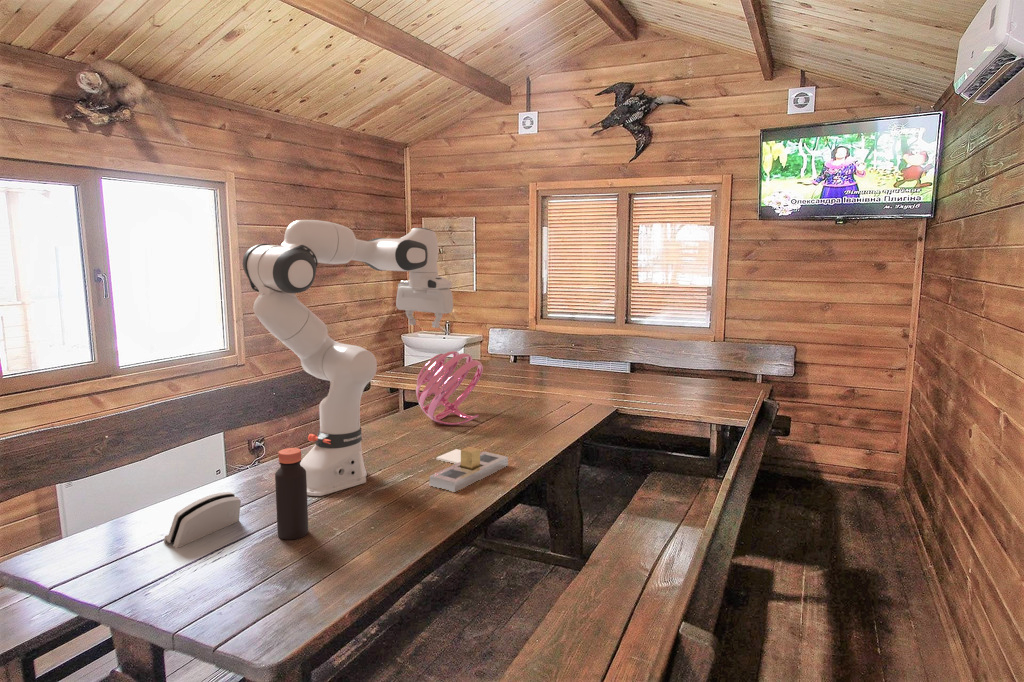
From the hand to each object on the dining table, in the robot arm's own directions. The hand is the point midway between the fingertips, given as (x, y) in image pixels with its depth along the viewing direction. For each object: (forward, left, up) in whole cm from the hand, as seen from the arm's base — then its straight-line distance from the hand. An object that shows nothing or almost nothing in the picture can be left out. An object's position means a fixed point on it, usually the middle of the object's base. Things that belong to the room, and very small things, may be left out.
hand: (423, 326), depth 201 cm
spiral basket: (+36, +19, -42) cm, 58 cm away
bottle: (-61, -12, -42) cm, 75 cm away
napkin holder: (-72, +5, -42) cm, 83 cm away
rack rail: (-7, -23, -42) cm, 48 cm away
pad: (+3, -11, -42) cm, 43 cm away
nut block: (-7, -23, -42) cm, 48 cm away
